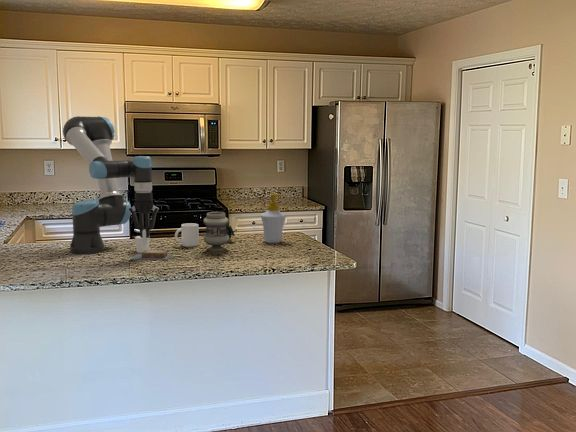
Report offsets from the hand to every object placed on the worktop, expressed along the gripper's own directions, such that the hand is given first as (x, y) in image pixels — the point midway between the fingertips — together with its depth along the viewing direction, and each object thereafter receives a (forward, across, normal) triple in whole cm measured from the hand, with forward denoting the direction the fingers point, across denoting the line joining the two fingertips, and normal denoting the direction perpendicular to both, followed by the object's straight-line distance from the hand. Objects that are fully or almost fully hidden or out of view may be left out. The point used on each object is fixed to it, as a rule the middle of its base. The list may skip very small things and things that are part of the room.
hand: (145, 244), depth 251 cm
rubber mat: (+6, +3, 0) cm, 6 cm away
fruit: (+6, +30, +37) cm, 48 cm away
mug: (+6, +13, +26) cm, 30 cm away
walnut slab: (+4, -1, 0) cm, 4 cm away
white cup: (+6, -4, +12) cm, 14 cm away
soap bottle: (+6, +55, +38) cm, 67 cm away
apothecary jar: (+6, +30, +16) cm, 34 cm away
